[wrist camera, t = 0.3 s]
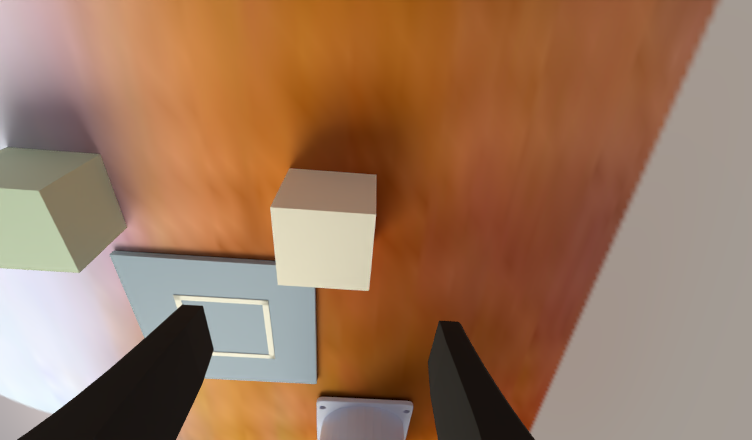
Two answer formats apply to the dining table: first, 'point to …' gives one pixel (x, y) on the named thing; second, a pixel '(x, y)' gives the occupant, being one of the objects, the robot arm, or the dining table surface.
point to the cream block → (324, 229)
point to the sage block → (55, 209)
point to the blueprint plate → (229, 311)
